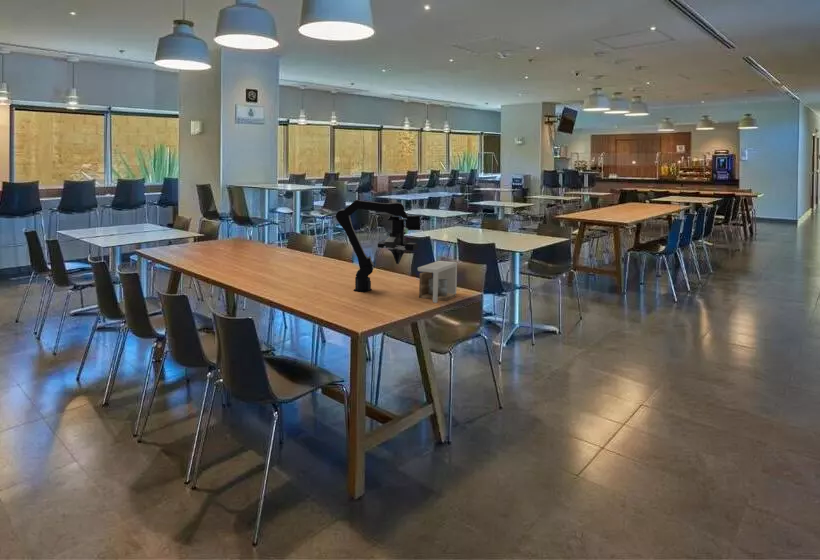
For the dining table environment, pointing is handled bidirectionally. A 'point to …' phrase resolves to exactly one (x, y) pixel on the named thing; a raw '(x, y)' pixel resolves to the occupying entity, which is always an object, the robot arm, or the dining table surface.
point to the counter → (442, 276)
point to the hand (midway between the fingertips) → (397, 263)
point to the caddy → (427, 287)
